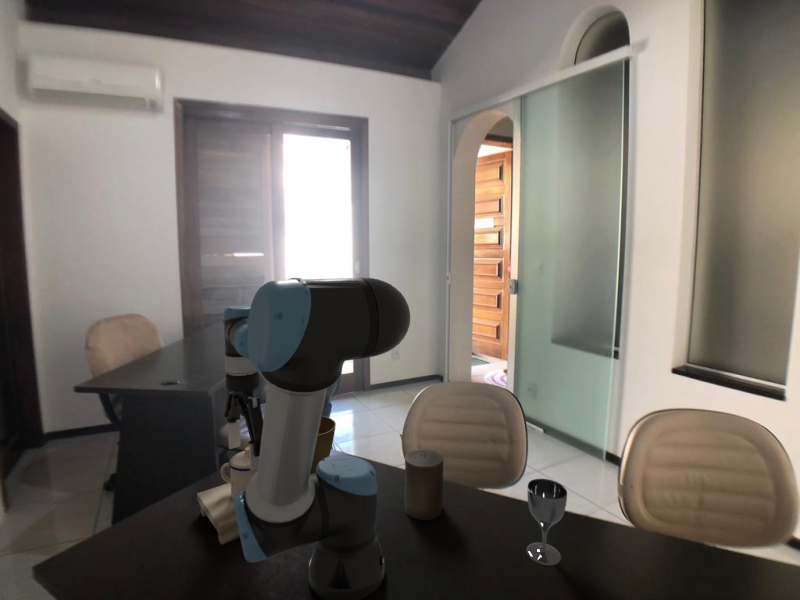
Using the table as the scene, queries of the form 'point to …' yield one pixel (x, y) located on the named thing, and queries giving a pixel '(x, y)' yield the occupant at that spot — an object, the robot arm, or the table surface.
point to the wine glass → (545, 516)
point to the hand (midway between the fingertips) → (245, 457)
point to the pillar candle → (423, 484)
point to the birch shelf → (220, 511)
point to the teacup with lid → (238, 472)
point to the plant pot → (323, 441)
